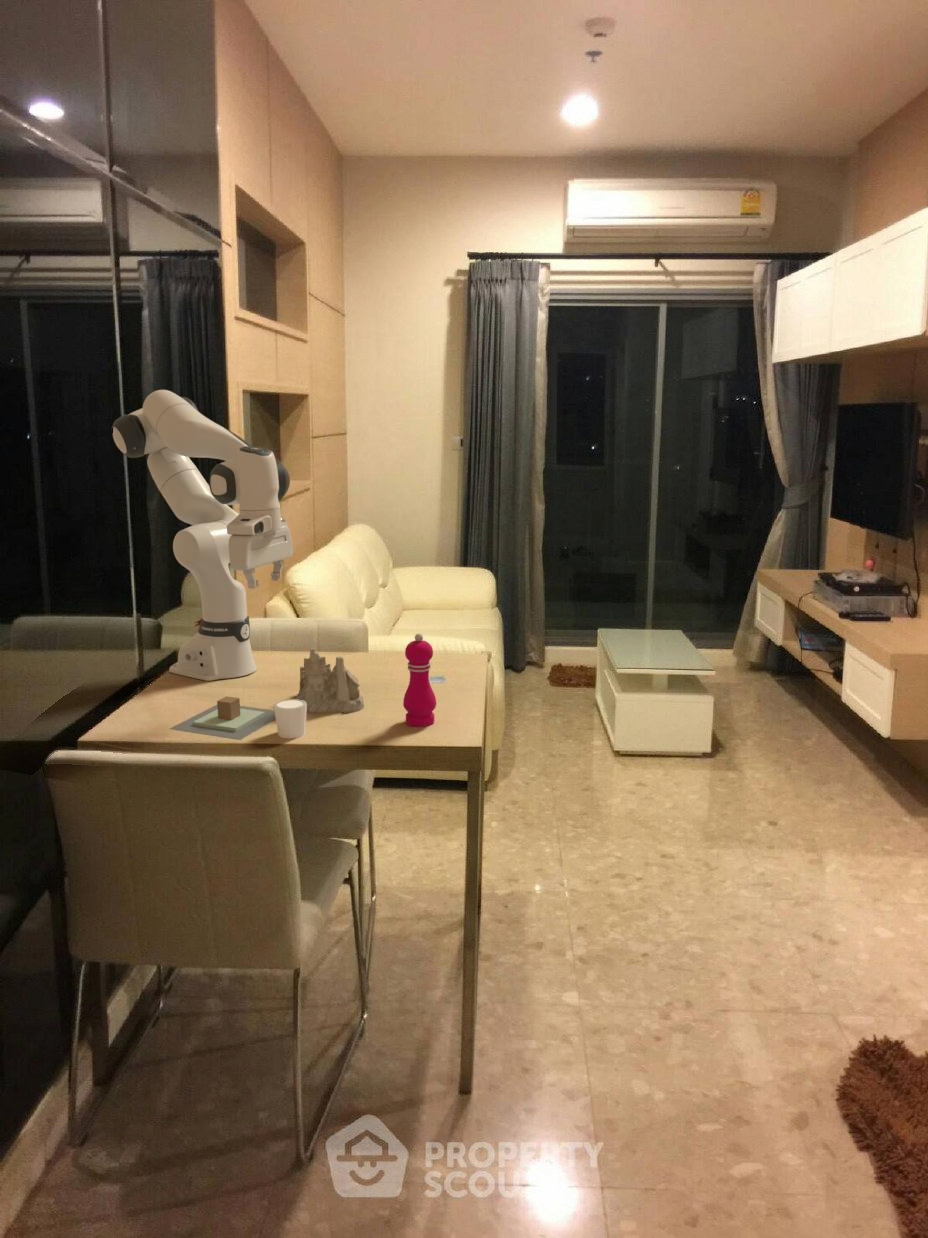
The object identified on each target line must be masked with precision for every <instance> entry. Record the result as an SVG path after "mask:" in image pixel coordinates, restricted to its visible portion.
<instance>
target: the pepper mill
mask: <svg viewBox="0 0 928 1238" xmlns="http://www.w3.org/2000/svg"><path fill="white" fill-rule="evenodd" d="M404 655H405V658H406V660H408V662H407V666H408V667H407V670H408V671H409V681H408V686H407V689H406V691H405V693H404V696H403V703H402V704H403V705H402V706H403V708H404V710H406V712H407V713H406V714H405V723H406V724H407V725H408V726H411V727H416V728H417V727H418V728H419V727H421V728H422V727H423V728H425V727H428V726H431V725H433V724H434V723H435V713H434V712H433V711H435V709H436V707H437V698H436V695H435V692H434V691H433V688H432V686H431V682H430V675H429V674H430V673H429V672H430V670H431V669H432V667H431V664H432V663H431V661H430V660H432V658H433V656H434V651H433V646H432V645H431V644H430V643H429V642H428V641H426V640H424V636H423V634H421V633H415V635H414V640H412V641H410V642H409V643H408V644H407V645H406V647H405V651H404Z"/></svg>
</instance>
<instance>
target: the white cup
mask: <svg viewBox="0 0 928 1238" xmlns="http://www.w3.org/2000/svg"><path fill="white" fill-rule="evenodd" d="M273 710H274V711H275V717H276V719H275V721H276V722H275V723H276V728H277V730H276V731H277V735H278V737H279V738H282V739H297V738H300V737H303V736H304V735H305V734H306V732H307V731H306V729H307V712H308V711H307V703H306V702H305V701H303V700H299V699H295V698H290V699H283V700H279V701H277V702H275V703H274V704H273Z"/></svg>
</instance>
